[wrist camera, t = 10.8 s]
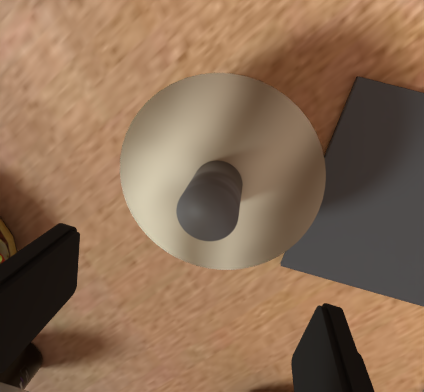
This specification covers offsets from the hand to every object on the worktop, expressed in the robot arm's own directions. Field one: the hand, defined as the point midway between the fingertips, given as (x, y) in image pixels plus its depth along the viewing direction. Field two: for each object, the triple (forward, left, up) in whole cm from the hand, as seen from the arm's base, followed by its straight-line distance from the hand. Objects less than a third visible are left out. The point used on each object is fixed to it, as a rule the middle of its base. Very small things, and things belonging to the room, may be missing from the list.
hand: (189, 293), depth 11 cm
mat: (-18, 0, -18) cm, 25 cm away
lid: (0, 0, -12) cm, 12 cm away
